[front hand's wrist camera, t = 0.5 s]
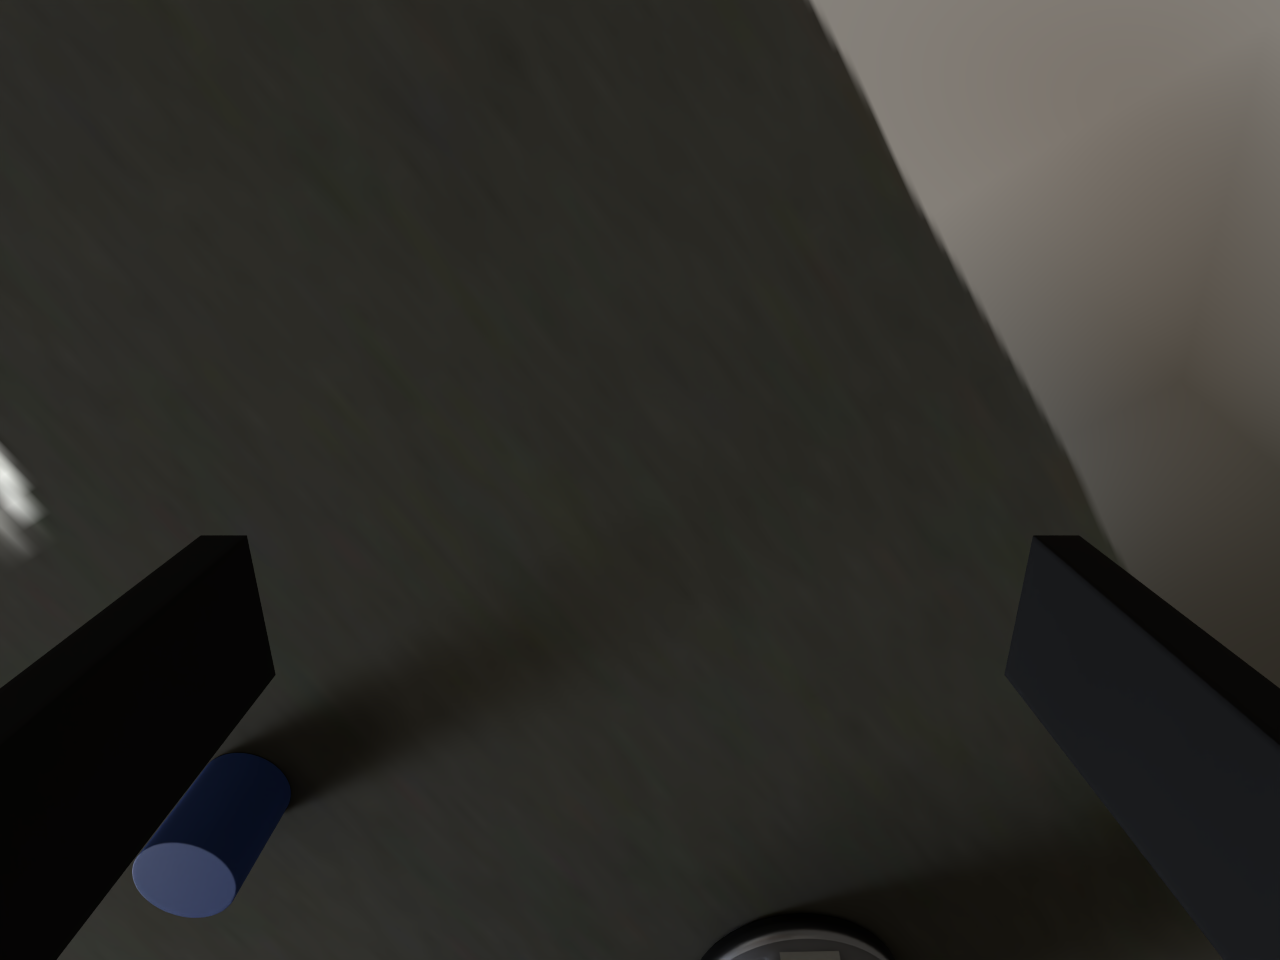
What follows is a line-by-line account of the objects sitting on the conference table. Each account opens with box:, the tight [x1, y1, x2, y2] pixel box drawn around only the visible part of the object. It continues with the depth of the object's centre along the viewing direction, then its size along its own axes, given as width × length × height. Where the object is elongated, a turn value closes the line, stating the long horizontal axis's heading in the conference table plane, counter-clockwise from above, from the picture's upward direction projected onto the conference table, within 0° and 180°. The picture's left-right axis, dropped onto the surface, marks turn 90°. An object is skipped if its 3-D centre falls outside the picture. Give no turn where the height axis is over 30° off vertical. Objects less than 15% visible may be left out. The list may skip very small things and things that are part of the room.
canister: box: [132, 753, 291, 918], centre depth 45 cm, size 6×6×7 cm
